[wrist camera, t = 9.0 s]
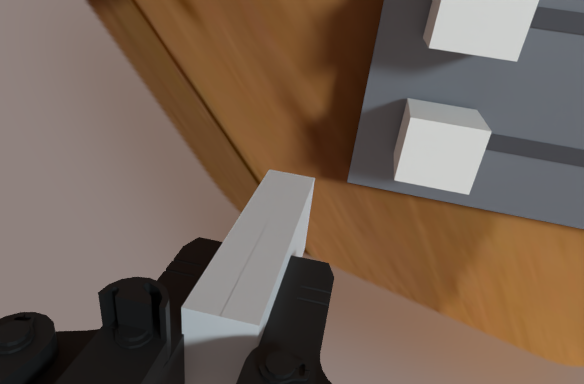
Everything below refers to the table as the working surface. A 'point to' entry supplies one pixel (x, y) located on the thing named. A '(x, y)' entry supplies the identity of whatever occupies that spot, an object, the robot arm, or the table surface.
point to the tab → (440, 146)
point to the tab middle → (480, 26)
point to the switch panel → (486, 111)
